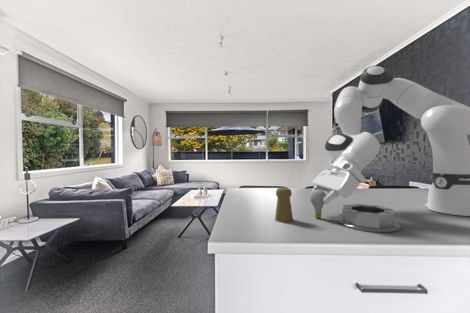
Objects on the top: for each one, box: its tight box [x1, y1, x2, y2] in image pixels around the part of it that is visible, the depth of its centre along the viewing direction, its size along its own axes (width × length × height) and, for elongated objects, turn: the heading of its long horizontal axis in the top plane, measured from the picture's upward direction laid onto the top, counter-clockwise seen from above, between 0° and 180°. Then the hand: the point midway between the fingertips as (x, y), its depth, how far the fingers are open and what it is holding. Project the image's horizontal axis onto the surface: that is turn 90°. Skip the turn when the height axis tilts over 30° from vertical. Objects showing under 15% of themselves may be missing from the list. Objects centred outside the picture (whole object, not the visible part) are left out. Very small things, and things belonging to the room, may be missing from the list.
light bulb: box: [309, 189, 327, 219], centre depth 80 cm, size 6×6×10 cm
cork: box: [274, 187, 294, 224], centre depth 79 cm, size 6×6×11 cm
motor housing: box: [337, 203, 401, 234], centre depth 74 cm, size 17×17×5 cm
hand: (317, 199), depth 81 cm, fingers open, 8 cm apart
